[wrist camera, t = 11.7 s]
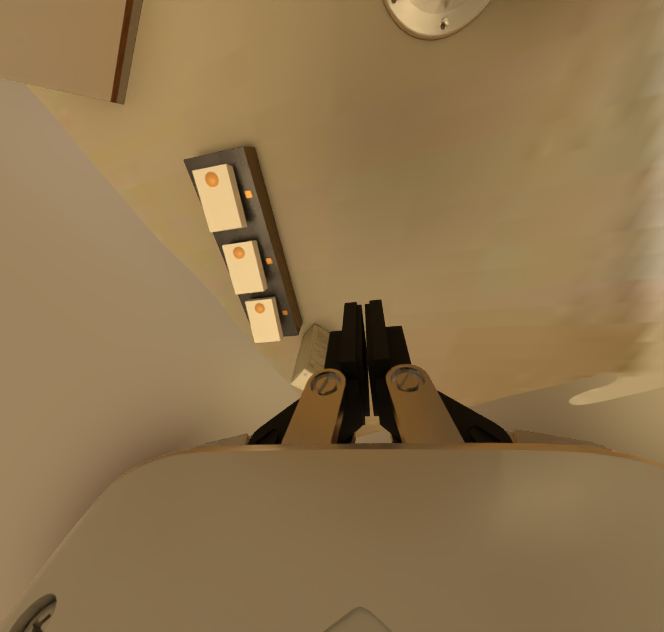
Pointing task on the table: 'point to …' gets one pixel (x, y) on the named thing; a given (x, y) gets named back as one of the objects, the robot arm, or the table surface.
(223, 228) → the rocker
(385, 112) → the table surface
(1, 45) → the display case
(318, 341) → the skincare box
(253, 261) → the cream flat rectangular block
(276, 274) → the power strip
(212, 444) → the robot arm
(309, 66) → the table surface
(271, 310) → the rocker
